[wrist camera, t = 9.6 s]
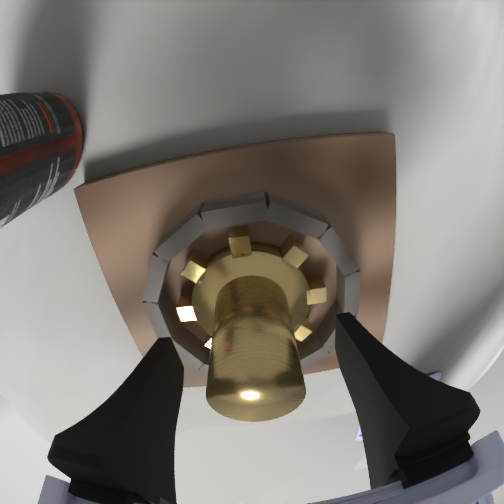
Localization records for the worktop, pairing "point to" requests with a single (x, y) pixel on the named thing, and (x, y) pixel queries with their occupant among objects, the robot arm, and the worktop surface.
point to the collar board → (260, 228)
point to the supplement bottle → (35, 149)
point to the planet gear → (252, 323)
